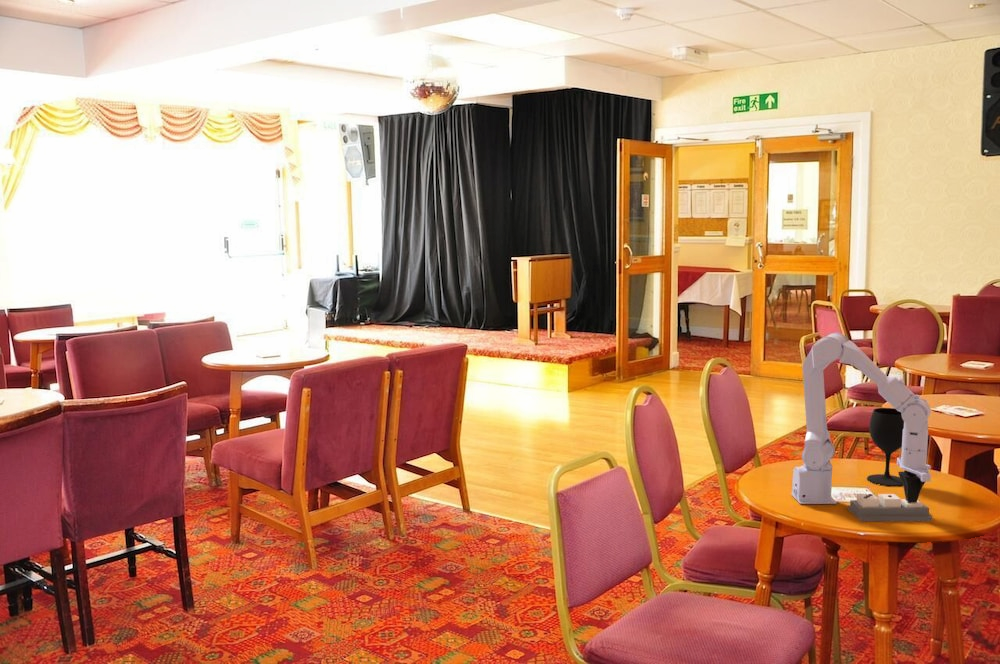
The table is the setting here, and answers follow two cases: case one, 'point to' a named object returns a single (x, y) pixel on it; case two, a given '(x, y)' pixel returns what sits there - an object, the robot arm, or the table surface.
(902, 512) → the tile board
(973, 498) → the table surface
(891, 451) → the wine glass
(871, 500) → the tile three
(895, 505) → the tile one
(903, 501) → the tile two
